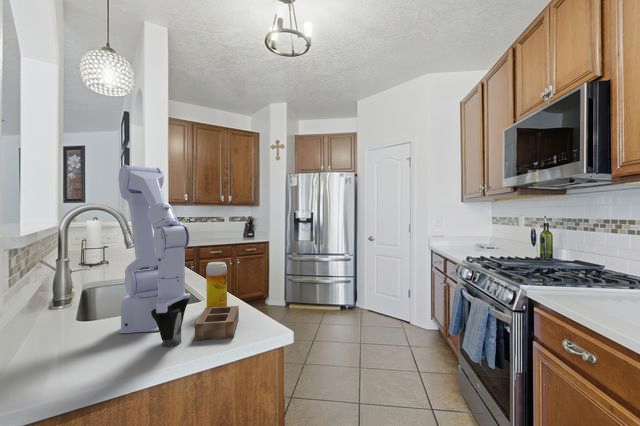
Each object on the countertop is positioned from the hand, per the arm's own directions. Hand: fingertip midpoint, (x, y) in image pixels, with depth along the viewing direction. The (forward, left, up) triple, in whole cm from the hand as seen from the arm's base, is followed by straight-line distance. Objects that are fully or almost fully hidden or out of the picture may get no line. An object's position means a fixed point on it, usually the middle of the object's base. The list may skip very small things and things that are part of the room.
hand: (172, 333), depth 72 cm
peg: (0, 0, -2) cm, 2 cm away
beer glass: (+6, +23, -2) cm, 24 cm away
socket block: (+9, +7, -2) cm, 12 cm away
